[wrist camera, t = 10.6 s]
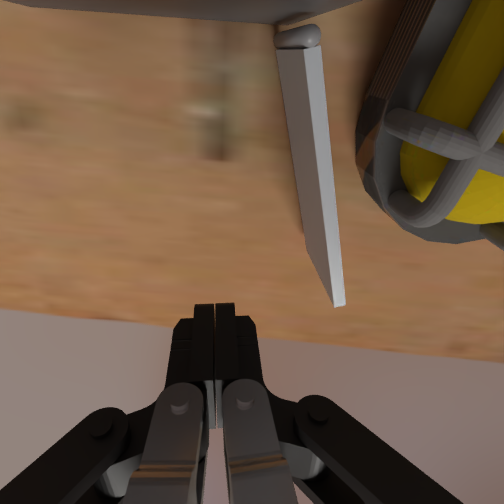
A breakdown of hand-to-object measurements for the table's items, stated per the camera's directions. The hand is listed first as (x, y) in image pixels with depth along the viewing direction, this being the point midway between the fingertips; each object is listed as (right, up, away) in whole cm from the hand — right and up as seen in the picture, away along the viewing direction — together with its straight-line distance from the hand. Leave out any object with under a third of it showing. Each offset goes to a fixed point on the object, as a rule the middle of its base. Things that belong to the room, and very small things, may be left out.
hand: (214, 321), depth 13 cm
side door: (+5, +9, +10) cm, 14 cm away
